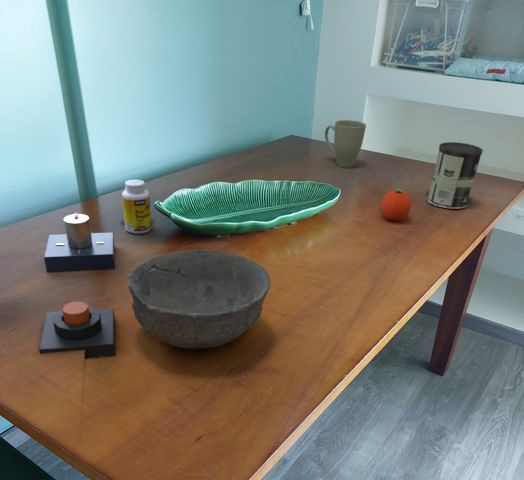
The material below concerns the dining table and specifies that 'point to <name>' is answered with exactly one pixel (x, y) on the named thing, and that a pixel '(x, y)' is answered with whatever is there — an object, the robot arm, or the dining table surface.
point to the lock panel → (80, 254)
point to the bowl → (198, 296)
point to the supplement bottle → (136, 207)
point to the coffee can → (454, 174)
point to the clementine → (396, 204)
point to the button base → (80, 334)
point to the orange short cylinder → (76, 313)
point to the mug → (346, 141)
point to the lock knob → (78, 231)
